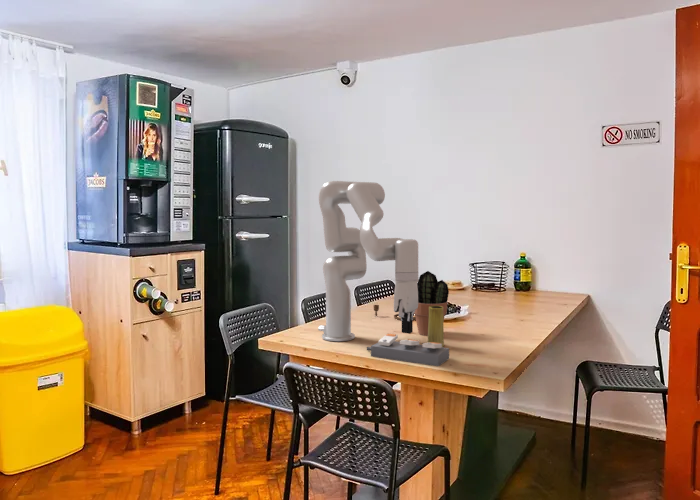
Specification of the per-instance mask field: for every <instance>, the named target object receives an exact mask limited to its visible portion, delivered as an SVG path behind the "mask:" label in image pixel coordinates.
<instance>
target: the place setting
mask: <svg viewBox="0 0 700 500" xmlns="http://www.w3.org/2000/svg"><path fill="white" fill-rule="evenodd" d="M379 309H380V305H379V304H373V311H374V315H375V316H377V317H378V311H379ZM375 316H374V317H375ZM397 316H399V313H396V314H394V315H393V318H394V319H395V320H396V319H397V320H396V321H401V317H397ZM413 316H414V313H413ZM413 320H415V321H416V317H413ZM413 320H411V321H413Z"/></svg>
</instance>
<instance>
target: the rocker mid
mask: <svg viewBox="0 0 700 500" xmlns="http://www.w3.org/2000/svg"><path fill="white" fill-rule="evenodd" d="M399 342H400V344H404V345H419V344H420V340H418V339H410V338H409V339H401V340H400V341H399Z"/></svg>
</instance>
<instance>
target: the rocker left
mask: <svg viewBox="0 0 700 500" xmlns="http://www.w3.org/2000/svg"><path fill="white" fill-rule="evenodd" d="M398 338H399V334H395V333H386V334H385V335H383V337H381V338H380V339H379V340H378V341H377V343H378V345H386V346H390V345H391V344H392V343H393V342H394V341H397V340H398Z"/></svg>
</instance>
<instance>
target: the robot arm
mask: <svg viewBox="0 0 700 500" xmlns="http://www.w3.org/2000/svg"><path fill="white" fill-rule="evenodd" d="M385 197H386V193H385V190H384V188H383V186H382V185H381V184H380V183H378V182H369V181H368V182H367V181H366V182H365V181H349V180H347V181H346V180H331V181H327V182H325V183H323V185H321V187H320V189H319V193H318V205H319V208H320V212H321V215H322V222H323V223H322V224H323V235H324V236H323V237H324V245H325V249H326V250H327V251H328V252H330V253H347V255H336V256H335V255H334V256H331V257H328V258H327V259H326V260H325V261H324V263H323V264H322V266H323V267H322V270H323V277H324V278H323V279H324V284H325V325H324V324H319V326H318V328H317V330H318V331H320V332H323V333H322V335H321V338H322V339H323V340H325V341H329V342H347V341H351V340H352V341H353V340H354V339H355V337H356V335H355V333H354V332H352V328H351V326H352V322H351V321H352V319H351V318H352V316H351V315H352V305H351V302H352V301H351V299H352V298H351V290H350V287H349V285H348V283H347V282H346V281H351V280H361V279H363V277H364V276H365V275H366V273H367V255H368V257H369V258H370V259H371V260H372V261H375V262H385V261H394V262H395V263H394V266H395V267H394V272H395V274H394V276H395V278H394V280H395V285H394V294H393V312H395V313H398V314H399V317H398V318H401V320H400V321H401V333H403V334H412V333H413V332H414V331H413V330H414V329H413V321H411V320H413V318H414V317H413V313H414V312H415V310H416V309H417V308H418V286H417V283H418V280H419V242H418V241H417V240H416V239H412V238H411V239H408V238H407V239H405V238H400V237H387V238H385V237H384V238H383V237H382V238H381V237H380V238H378V236H377V234H376V233H375V231H374V229H373V227H375V226H376V225H377V224H379V223H380V222H382V220H383V218H384V210H383V209H382V207H381V204H383V202H384V201H385ZM339 204H340V205H341V204H344V205H346V204H347V205H348V204H349V205H351V207H352V208H353V210H354V212H355V214H356V215H357V217H358V218H359V220H360V223H361V224H360V227H359V228H357V227H354V226H353V227H349V226H348V227H347V225H346V216H345V214H344V213H345V212H344V211H343V210H342V208H341V207H340V206H339Z"/></svg>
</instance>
